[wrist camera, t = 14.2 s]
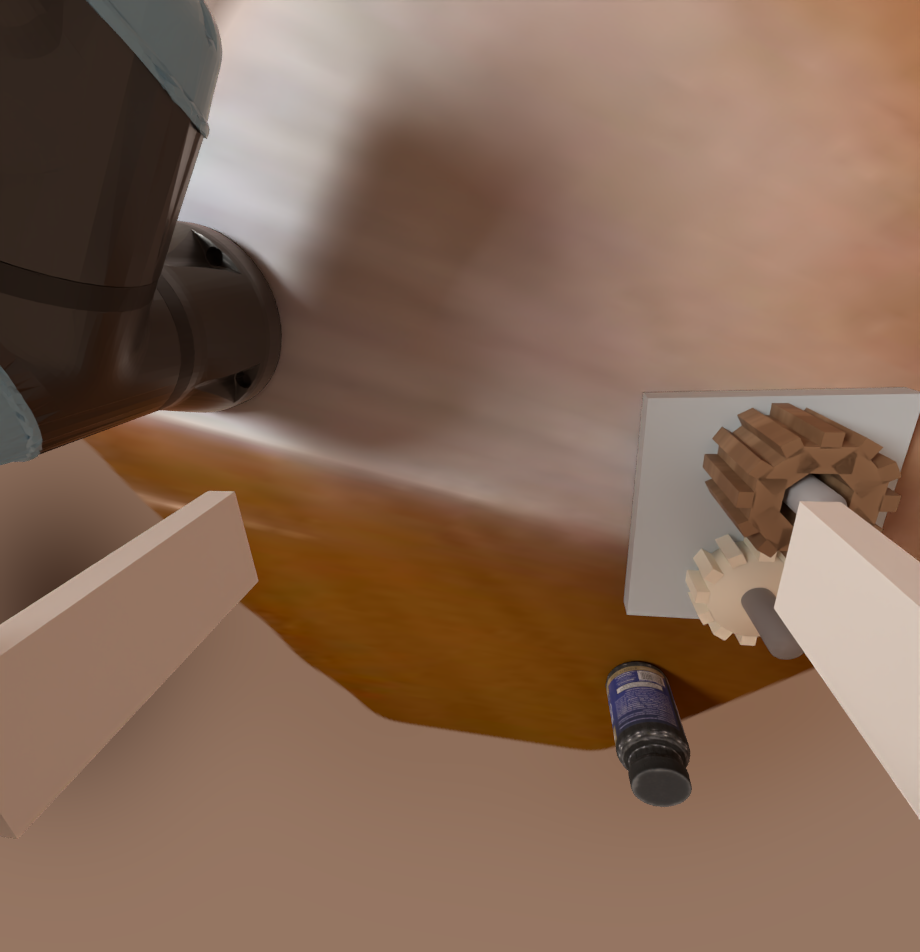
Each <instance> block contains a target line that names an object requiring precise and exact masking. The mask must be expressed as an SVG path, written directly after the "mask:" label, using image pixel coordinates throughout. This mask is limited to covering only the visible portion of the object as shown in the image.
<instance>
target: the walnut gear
mask: <svg viewBox="0 0 920 952" xmlns="http://www.w3.org/2000/svg"><path fill="white" fill-rule="evenodd" d="M737 416H738V418H739V420H740V423H741V425H742V426H740V427H739V428H738V429H736V430H735V431H734V432H730V431H729V430H727V429H725V428H723V427H721V428H720V429H719V431H718V432H717V433H716V434H715V435H714V437H713V438H712V439H713V440H714V441H715V442H716V443H717V444H718V445H719V447H718V453H717V454H705V455H704V461H703V468H704V470H705V471H706V472H707V473H708V474H709V476H710V477H711V478H712V479H710V480H707V481H705V484H706V486H707V488H708V490H709V492H710V493H711V495H712V496H713V497H714V499H715V500H716V501H717V502H718V504H719V505H720V506H721V508H722V509H723V510H724V512H725V513H726V514H727V516H728V517H729V518H730V519H731V521H732V522H733V523H734V525H735V526H736V527H737V529H738V530H739V531H740V532H741V534H742V535H743V536H744V538H745V537H747V538H748V540H749V541H750V542H751V543H752V545H753V546H754V547H755V549H756V550H757V551H759V552H761V553H763V554H765V555H766V556H768V557H770V558H771V557H772V556H773V555H774V554H775V553H776V552H777V551H780V552H781V553H782V554H783V555H784V557H785V558H786V556H787V552H788V548H789V544H790V540H791V535H792V531H793V527H794V523H795V519H796V515H797V514H796V513H795V512H794V511H793V510H791V509H790V508H789V507H788V506H787V505H786V504H785V503H784V502H783V497H784V493H785V489H787V488H788V487H790V486H791V485H793V484H794V483H796V482H797V481H799V480H800V479H802V478H803V477H805V476H806V475H808V474H809V473H811V474H812V475H814V476H815V477H816V478H818V479H819V480H820V481H822V482H823V483H824V484H826V485H827V486H828V487H830V488H831V489H832V490H834V491H835V492H836V493H838V494H839V495H841V496H842V497H843V498H844V499H845V501H846V503H847V507H848V508H849V509H851V510H852V511H853V512H855V513H856V514H857V515H859V516H860V517H861V518H862V519H864V520H865V521H866V522H868V523H869V524H870V525H872V526H873V527H874V528H876V529H877V530H878V531H880V532H882V531H883V530H884V529H882V528H881V527H880V526H878V525H877V524H876V520H877V517H878V514H879V512H896V511H897V508H898V505H899V502H900V499H901V495H899V494H898V493H896V492H894V491H893V490H891V489H890V488H888V484H889V482H890V481H893V480H896V479H898V478H901V477H902V476H901V473H900V471H899V468H898V465H897V462H896V461H894V460H892V459H890V458H888V457H886V456H884V455H882V454H880V453H879V451H880V450H881V449H882V448H883V447H882V446H880V445H879V444H877V443H875V442H874V441H872V440H870V439H868V438H867V437H865V436H863V435H861V434H859V433H857V432H855V431H853V430H851V429H849V428H847V427H845V426H843V425H841V424H839V423H837V422H835V421H833V420H831V419H829V418H827V417H825V416H823V415H821V414H819V413H817V412H815V411H813V410H811V409H809V408H807V407H806V409H805V410H804V411H803V410H801V409H799V408H797V407H795V406H794V405H792V404H790V403H772V405H771V410H770V414H769V415H764V414H762V413H760V412H759V411H757V410H756V409H754V408H751V409H748V410H746V411H744V412H742V413H740V414H738V415H737Z"/></svg>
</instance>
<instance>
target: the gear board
mask: <svg viewBox="0 0 920 952" xmlns="http://www.w3.org/2000/svg"><path fill="white" fill-rule="evenodd" d="M772 403H790V404H792V405H794V406H795V407H797V408H799V409H801V410H803V411H804V410H805V409H806V407H807V408H809V409H811V410H813V411H815V412H817V413H819V414H821V415H823V416H825V417H827V418H829V419H831V420H833V421H835V422H837V423H839V424H841V425H843V426H845V427H847V428H849V429H851V430H853V431H855V432H857V433H859V434H861V435H863V436H865V437H867V438H868V439H870V440H872V441H874V442H875V443H877V444H879V445H880V446H882V447H883V448H882V449H881V450H880V451H879V453H880V454H882V455H884V456H886V457H888V458H890V459H892V460H894V461H896V462H897V465H898V468H899V471H900V472H901V469H902V465H903V462H904V459H905V456H906V453H907V450H908V447H909V444H910V441H911V438H912V435H913V432H914V429H915V426H916V423H917V419H918V416H919V413H920V392H919V391H916V390H913V389H909V388H906V387H894V388H842V389H791V390H739V391H687V392H643V398H642V409H641V420H640V430H639V441H638V452H637V463H636V473H635V484H634V495H633V506H632V516H631V527H630V538H629V549H628V559H627V570H626V581H625V592H624V604H625V608H626V613H627V615H641V616H658V617H676V618H693V619H700V620H701V622H702V624H703V625H705V624H709V626H710V628H711V630H712V632H713V635H715V636H717V637H719V638H721V639H723V640H726V639H727V638H728V637H729V636H730V635H731V634H732V633H734V634H735V636H736V637H737V639H738V641H739V643H740V645H751V646H755V644H756V639H757V637H758V636H761V638H762V640H763V641H764V643H765V645H766V646H767V648H768V650H769V651H770V653H771V654H772V655H773V656H775V657H777V658H779V659H793V658H796V657H799V656H800V655H802V654H803V653H804V651H803V650H802V648H801V647H800V646H799V644H798V643H797V641H796V640H795V638H794V637H793V635H792V634H791V633H790V631H789V630H788V628H787V627H786V625H785V624H784V622H783V621H782V619H781V618H780V617H779V615H778V614H777V612H776V611H775V609H774V605H775V601H776V597H777V593H778V589H779V585H780V581H781V576H782V572H783V568H784V564H785V560H786V558H785V557H784V555H783V554H782V553H781V552H780V551H777V552H776V553H775V554H774V555H773V556H772V557H771V558H770V557H768V556H766V555H765V554H763V553H761V552H759V551H757V550H756V549H755V547H754V546H753V545H752V543H751V542H750V541H749V540H748V538H747V537H745V538H744V536H743V535H742V534H741V532H740V531H739V530H738V529H737V527H736V526H735V525H734V523H733V522H732V521H731V519H730V518H729V517H728V516H727V514H726V513H725V512H724V510H723V509H722V508H721V506H720V505H719V504H718V502H717V501H716V500H715V499H714V497H713V496H712V495H711V493H710V492H709V490H708V488H707V486H706V484H705V481H707V480H710V479H712V478H711V477H710V476H709V474H708V473H707V472H706V471H705V470H704V468H703V461H704V455H705V454H717V453H718V447H719V445H718V444H717V443H716V442H715V441H714V440H713V439H712V438H713V437H714V435H715V434H716V433H717V432H718V431H719V429H720V428H721V427H723V428H725V429H727V430H729V431H730V432H734V431H735V430H736V429H738V428H739V427H740V426H742V425H741V423H740V420H739V418H738V416H737V415H738V414H740V413H742V412H744V411H746V410H748V409H751V408H754V409H756V410H757V411H759V412H760V413H762V414H764V415H769V414H770V410H771V405H772ZM897 481H898V479H896V480H893V481H890V482H889V484H888V488H890V489H891V490H893V491H894V490H895V487H896V484H897ZM800 501H812V502H841V503H843V504H844V505H845V506H847V503H846V501H845V499H844V498H843V497H842V496H841V495H839V494H838V493H836V492H835V491H834V490H832V489H831V488H830V487H828V486H827V485H826V484H824V483H823V482H822V481H820V480H819V479H818V478H816V477H815V476H814V475H812V474H811V473H809V474H808V475H806V476H805V477H803V478H802V479H800V480H799V481H797V482H796V483H794V484H793V485H791V486H790V487H788V488H787V489H785V493H784V497H783V502H784V503H785V504H786V505H787V506H788V507H789V508H790V509H791V510H793V511H794V512H795V513H796V514H797V511H798V507H799V503H800ZM886 515H887V512H879V514H878V517H877V520H876V524H877V525H878V526H880V527H881V528H882V527H883V524H884V521H885V518H886Z"/></svg>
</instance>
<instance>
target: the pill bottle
mask: <svg viewBox="0 0 920 952" xmlns="http://www.w3.org/2000/svg"><path fill="white" fill-rule="evenodd" d="M606 690H607V696H608V702H609V708H610V714H611V720H612V726H613V732H614V739H615V745H616V752H617V756H618V758H619V760H620V762H621V763H622V764H623V766H624V767H625V768H626V769H627V770H628V771H629V779H630V784H631V789H632V791H633V793H634V795H635V796H636V797H637V798H638V799H640V800H641V801H643V802H644V803H647V804H650V805H653V806H660V807H668V806H674V805H677V804H680V803H682V802H684V801H685V800H686V799H687V798H688V797H689V796H690V794H691V790H692V788H691V782H690V779H689V774H688V772H687V769H686V767H687V765H688V763H689V759H690V749H689V745H688V742H687V739H686V736H685V733H684V730H683V726H682V723H681V720H680V717H679V713H678V710H677V707H676V704H675V701H674V698H673V694H672V691H671V688H670V685H669V682H668V679H667V678H666V676H665V675H664V674H663V672H662V671H661V670H660V669H658V668H657V667H655V666H653V665H651V664H648V663H645V662H637V661H636V662H627V663H623V664H621V665H619V666H617V667H615V668H614V669H613V670H612V671H611V672H610V673H609V675H608V677H607V681H606Z"/></svg>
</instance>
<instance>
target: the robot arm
mask: <svg viewBox="0 0 920 952" xmlns="http://www.w3.org/2000/svg"><path fill="white" fill-rule="evenodd" d="M221 60H222V45H221V38H220V34H219V30H218V27H217V24H216V22H215V19H214V17H213V15H212V13H211V11H210V10H209V8H208V6H207V4H206V3H205V1H204V0H0V465H3V464H7V463H10V462H18V461H19V462H25V461H29V460H31V459H34V458H35V457H37V456H38V455H39V454H42V453H44V452H47V451H50V450H52V449H55V448H58V447H61V446H63V445H66V444H68V443H71V442H74V441H77V440H80V439H82V438H85V437H88V436H90V435H93V434H96V433H99V432H101V431H104V430H107V429H109V428H112V427H115V426H117V425H120V424H123V423H126V422H128V421H131V420H134V419H136V418H139V417H142V416H145V415H147V414H150V413H153V412H155V411H158V410H167V411H184V412H203V413H206V412H216V411H221V410H225V409H228V408H231V407H233V406H236V405H238V404H240V403H243V402H245V401H247V400H249V399H251V398H252V397H254V396H255V395H256V394H258V393H259V392H260V391H261V390H262V389H263V388H264V387H265V386H266V384H267V383H268V382H269V380H270V378H271V377H272V375H273V373H274V371H275V368H276V366H277V363H278V359H279V355H280V348H281V326H280V319H279V314H278V309H277V306H276V303H275V300H274V297H273V295H272V292H271V290H270V288H269V286H268V284H267V282H266V280H265V278H264V277H263V275H262V273H261V272H260V270H259V269H258V267H257V266H256V265H255V263H254V262H253V261H252V260H251V259H250V257H249V256H248V255H247V254H246V253H245V252H244V251H243V250H242V249H241V248H240V247H239V246H237V245H236V244H235V243H234V242H232V241H231V240H230V239H228V238H227V237H225V236H224V235H222V234H220V233H219V232H217V231H215V230H213V229H210V228H208V227H205V226H202V225H199V224H195V223H189V222H183V221H177V219H178V216H179V213H180V209H181V206H182V203H183V200H184V197H185V194H186V191H187V188H188V184H189V181H190V178H191V175H192V172H193V169H194V166H195V163H196V160H197V156H198V153H199V150H200V147H201V144H202V141H203V138H206V139H207V137H208V135H209V126H208V123H207V121H208V117H209V112H210V107H211V103H212V98H213V94H214V90H215V86H216V82H217V78H218V74H219V70H220V66H221ZM257 582H258V578H257V574H256V570H255V567H254V563H253V559H252V555H251V552H250V548H249V544H248V540H247V536H246V533H245V529H244V525H243V521H242V518H241V514H240V510H239V506H238V502H237V499H236V495H235V492H232V491H207V492H206V493H204V494H203V495H201V496H200V497H198V498H196V499H195V500H193V501H192V502H190V503H189V504H187V505H186V506H184V507H183V508H181V509H179V510H178V511H176V512H175V513H173V514H172V515H170V516H169V517H167V518H165V519H164V520H162V521H161V522H159V523H158V524H156V525H155V526H153V527H151V528H150V529H148V530H147V531H145V532H144V533H142V534H141V535H139V536H137V537H136V538H134V539H133V540H131V541H130V542H128V543H127V544H125V545H124V546H122V547H120V548H119V549H117V550H116V551H114V552H113V553H111V554H109V555H108V556H106V557H105V558H103V559H102V560H100V561H99V562H97V563H95V564H94V565H92V566H91V567H89V568H88V569H86V570H85V571H83V572H81V573H80V574H78V575H77V576H75V577H74V578H72V579H71V580H69V581H68V582H66V583H65V584H63V585H62V586H60V587H58V588H57V589H55V590H53V591H52V592H50V593H49V594H47V595H46V596H44V597H43V598H41V599H39V600H38V601H36V602H35V603H33V604H32V605H30V606H29V607H27V608H26V609H24V610H22V611H21V612H19V613H18V614H16V615H15V616H13V617H11V618H10V619H8V620H7V621H5V622H4V623H2V624H1V625H0V836H2V837H8V838H14V839H18V838H19V837H20V836H21V835H22V834H23V833H24V832H25V831H26V830H27V829H28V828H29V826H30V825H31V824H32V823H33V822H34V821H35V820H36V819H37V818H38V817H39V816H40V815H41V813H42V812H43V811H44V810H45V809H46V808H47V807H48V806H49V805H50V804H51V803H52V802H53V801H54V800H55V799H56V797H57V796H58V795H59V794H60V793H61V792H62V791H63V790H64V789H65V788H66V787H67V786H68V785H69V784H70V783H71V781H72V780H73V779H74V778H75V777H76V776H77V775H78V774H79V773H80V772H81V771H82V770H83V769H84V767H85V766H86V765H87V764H88V763H89V762H90V761H91V760H92V759H93V758H94V757H95V755H97V754H98V752H99V751H100V750H101V749H102V748H103V747H104V746H105V745H106V744H107V743H108V742H109V741H110V740H111V738H112V737H113V736H114V735H115V734H116V733H117V732H118V731H119V730H120V729H121V728H122V727H123V726H124V725H125V724H126V722H127V721H128V720H129V719H130V718H131V717H132V716H133V715H134V714H135V713H136V712H137V711H138V710H139V708H140V707H141V706H142V705H143V704H144V703H145V702H146V701H147V700H148V699H149V698H150V697H151V696H152V695H153V693H154V692H155V691H156V690H157V689H158V688H159V687H160V686H161V685H162V684H163V683H164V682H165V681H166V679H168V677H169V676H170V675H171V674H172V673H173V672H174V671H175V670H176V669H177V668H178V667H179V666H180V664H181V663H182V662H183V661H184V660H185V659H186V658H187V657H188V656H189V655H190V654H191V652H193V651H194V650H195V648H196V647H197V646H198V645H199V644H200V643H201V642H202V641H203V640H204V639H205V638H206V637H207V636H208V635H209V633H210V632H211V631H212V630H213V629H214V628H215V627H216V626H217V625H218V624H219V623H220V622H221V621H222V619H223V618H224V617H225V616H226V615H227V614H228V613H229V612H230V611H231V610H232V609H233V608H234V607H235V605H237V603H238V602H239V601H240V600H241V599H242V598H243V597H244V596H245V595H246V594H247V593H248V592H249V591H250V590H251V588H252V587H253V586H254V585H255V584H256V583H257ZM774 609H775V611H776V612H777V614H778V615H779V617H780V618H781V619H782V621H783V622H784V624H785V625H786V627H787V628H788V630H789V631H790V633H791V634H792V635H793V637H794V638H795V640H796V641H797V643H798V644H799V646H800V647H801V648H802V650H803V651H804V653H805V654H806V656H807V657H808V659H809V660H810V661H811V663H812V664H813V666H814V667H815V669H816V670H817V672H818V673H819V674H820V676H821V677H822V679H823V680H824V682H825V683H826V684H827V686H828V687H829V689H830V690H831V692H832V693H833V694H834V696H835V698H836V699H837V700H838V702H839V703H840V705H841V706H842V708H843V709H844V711H845V712H846V713H847V715H848V716H849V718H850V719H851V720H852V722H853V724H854V725H855V726H856V728H857V729H858V731H859V732H860V734H861V735H862V737H863V738H864V739H865V741H866V742H867V744H868V745H869V747H870V748H871V749H872V751H873V752H874V754H875V755H876V757H877V758H878V760H879V761H880V763H881V764H882V765H883V767H884V768H885V770H886V771H887V773H888V774H889V776H890V777H891V778H892V780H893V781H894V783H895V784H896V786H897V787H898V788H899V790H900V791H901V793H902V794H903V796H904V797H905V799H906V800H907V802H908V803H909V805H910V806H911V807H912V809H913V810H914V812H915V813H916V814H917V816H918V818H919V819H920V562H919V561H918V560H916V559H915V558H914V557H912V556H911V555H910V554H908V553H907V552H906V551H904V550H903V549H902V548H901V547H899V546H898V545H897V544H895V543H894V542H893V541H891V540H890V539H889V538H887V537H886V536H885V535H883V534H882V533H881V532H880V531H878V530H877V529H876V528H874V527H873V526H872V525H870V524H869V523H868V522H866V521H865V520H864V519H862V518H861V517H860V516H859V515H857V514H856V513H855V512H853V511H852V510H851V509H849V508H848V507H847V506H845V505H844V504H843V503H841V502H812V501H800V503H799V507H798V511H797V515H796V519H795V523H794V527H793V531H792V535H791V540H790V544H789V548H788V552H787V556H786V560H785V564H784V568H783V572H782V576H781V581H780V585H779V589H778V593H777V597H776V601H775V605H774Z"/></svg>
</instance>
